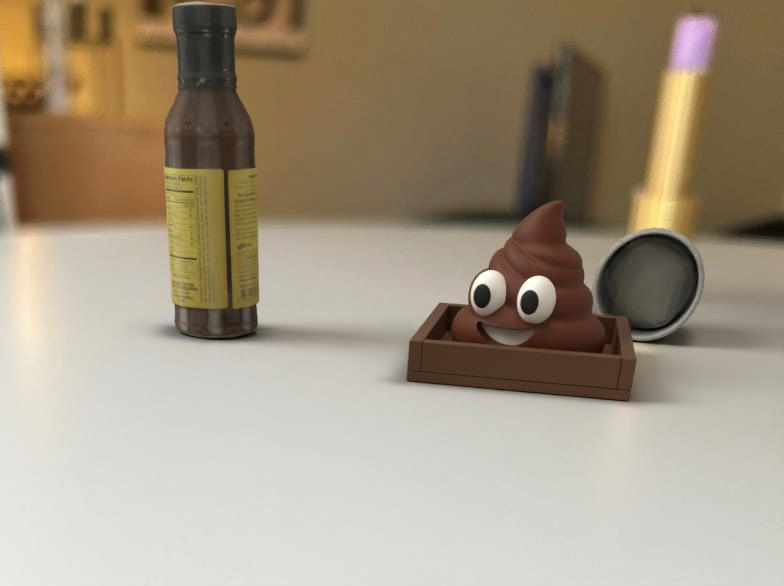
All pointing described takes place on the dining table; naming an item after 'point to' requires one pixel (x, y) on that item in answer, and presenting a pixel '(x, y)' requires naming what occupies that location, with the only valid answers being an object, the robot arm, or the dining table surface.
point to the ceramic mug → (650, 282)
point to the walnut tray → (522, 361)
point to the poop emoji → (532, 292)
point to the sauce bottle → (210, 180)
